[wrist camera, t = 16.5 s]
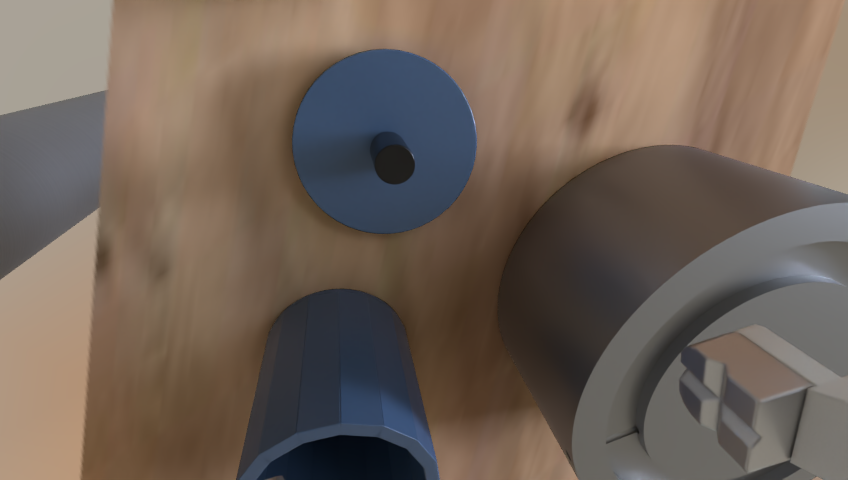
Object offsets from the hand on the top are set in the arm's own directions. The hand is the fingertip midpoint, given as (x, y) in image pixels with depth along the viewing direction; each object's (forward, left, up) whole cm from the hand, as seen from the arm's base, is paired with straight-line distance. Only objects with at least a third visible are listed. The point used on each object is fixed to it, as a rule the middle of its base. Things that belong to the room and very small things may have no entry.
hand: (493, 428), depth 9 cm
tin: (-2, -17, -24) cm, 30 cm away
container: (+24, -10, -25) cm, 35 cm away
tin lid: (0, 0, -24) cm, 24 cm away
